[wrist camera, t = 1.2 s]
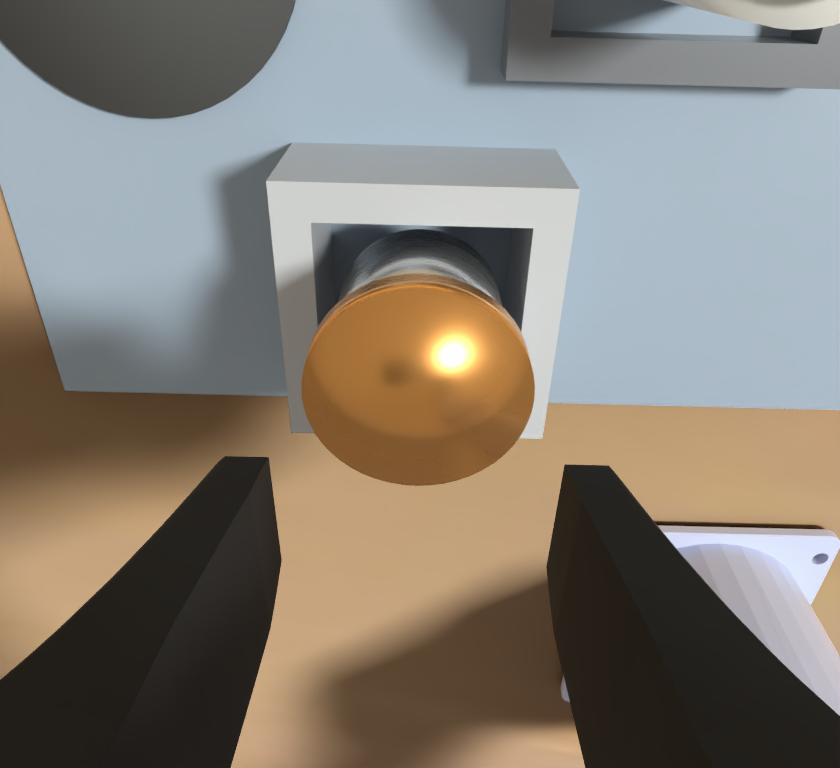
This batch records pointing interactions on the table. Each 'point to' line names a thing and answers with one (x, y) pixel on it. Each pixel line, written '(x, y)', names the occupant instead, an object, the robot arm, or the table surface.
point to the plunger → (418, 364)
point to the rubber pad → (145, 49)
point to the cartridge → (774, 11)
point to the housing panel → (457, 200)
